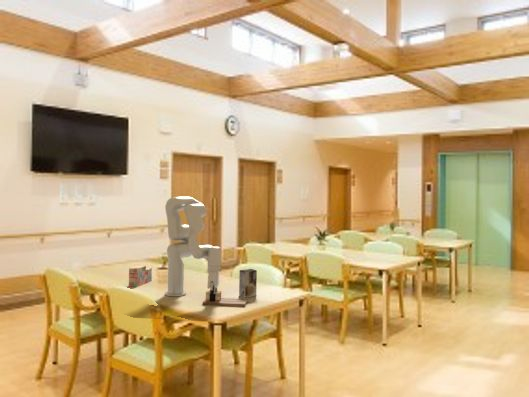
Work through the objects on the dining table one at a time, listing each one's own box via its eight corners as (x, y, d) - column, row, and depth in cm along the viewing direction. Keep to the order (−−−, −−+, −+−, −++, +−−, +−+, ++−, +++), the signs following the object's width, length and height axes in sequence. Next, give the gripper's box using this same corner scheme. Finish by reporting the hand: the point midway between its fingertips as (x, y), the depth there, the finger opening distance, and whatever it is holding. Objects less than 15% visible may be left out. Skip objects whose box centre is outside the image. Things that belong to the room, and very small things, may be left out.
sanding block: (207, 298, 272) (207, 290, 271) (221, 299, 271) (221, 290, 271) (205, 300, 267) (205, 292, 267) (219, 301, 266) (219, 292, 266)
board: (207, 299, 275) (207, 297, 275) (247, 301, 273) (247, 299, 273) (202, 304, 263) (202, 302, 263) (244, 306, 261) (244, 304, 261)
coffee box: (249, 294, 293) (250, 268, 293) (256, 296, 289) (257, 270, 288) (238, 296, 287) (239, 269, 287) (245, 298, 283) (245, 271, 282)
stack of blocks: (143, 280, 328) (143, 263, 328) (151, 281, 327) (152, 263, 326) (128, 286, 307) (128, 267, 307) (137, 287, 306) (137, 268, 305)
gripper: (210, 265, 277) (210, 296, 278) (204, 270, 260) (203, 302, 261) (223, 266, 277) (222, 296, 277) (217, 270, 260) (216, 303, 260)
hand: (213, 299), depth 269 cm, fingers closed on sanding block, 5 cm apart
